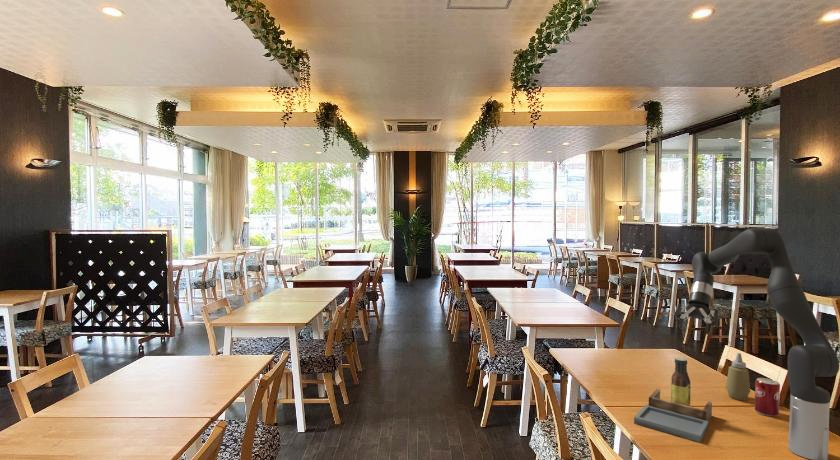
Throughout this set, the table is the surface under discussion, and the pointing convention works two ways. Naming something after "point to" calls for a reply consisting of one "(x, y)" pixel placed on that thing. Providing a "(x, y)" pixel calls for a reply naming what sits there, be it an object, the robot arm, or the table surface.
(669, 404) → the holder
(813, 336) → the robot arm
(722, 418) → the table surface
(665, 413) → the tray
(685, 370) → the sauce bottle
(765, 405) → the soda can
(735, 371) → the squeeze bottle
